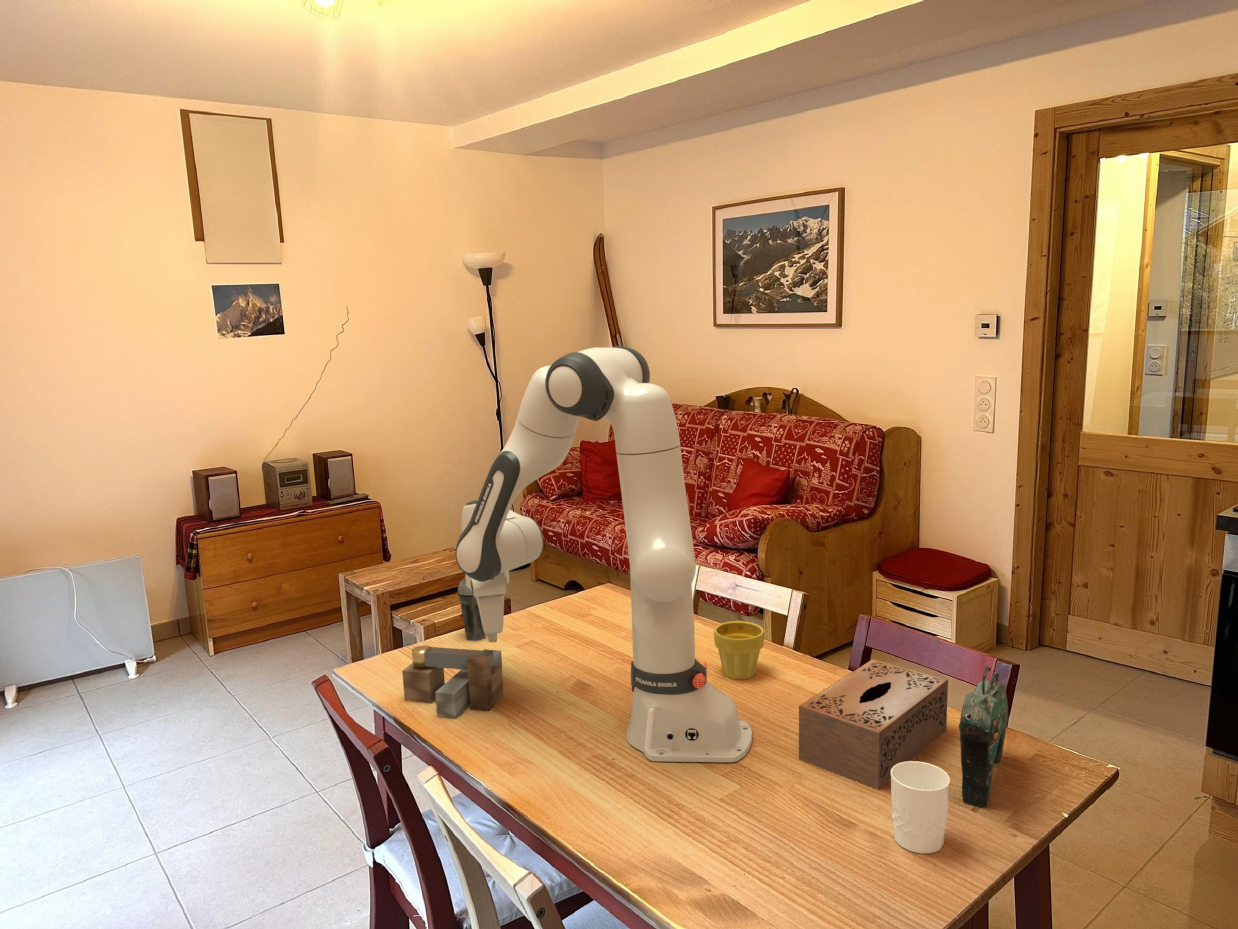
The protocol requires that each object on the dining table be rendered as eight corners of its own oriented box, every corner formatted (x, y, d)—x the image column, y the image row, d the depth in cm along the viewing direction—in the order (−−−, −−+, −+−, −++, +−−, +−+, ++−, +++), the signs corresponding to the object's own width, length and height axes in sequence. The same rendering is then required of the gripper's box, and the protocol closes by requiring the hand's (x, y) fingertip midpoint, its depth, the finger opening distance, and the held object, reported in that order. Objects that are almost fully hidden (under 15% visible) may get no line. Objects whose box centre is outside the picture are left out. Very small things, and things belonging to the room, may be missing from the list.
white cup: (934, 822, 125) (936, 759, 123) (957, 855, 117) (959, 789, 115) (881, 825, 125) (882, 762, 123) (900, 858, 117) (902, 792, 115)
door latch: (523, 674, 182) (521, 628, 181) (479, 721, 162) (476, 669, 160) (444, 667, 188) (441, 622, 186) (391, 711, 167) (387, 661, 165)
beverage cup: (454, 640, 204) (448, 560, 200) (472, 630, 210) (467, 552, 207) (478, 644, 200) (473, 563, 197) (496, 634, 206) (492, 555, 203)
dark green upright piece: (992, 817, 126) (997, 690, 122) (946, 804, 129) (950, 681, 126) (1012, 757, 142) (1018, 644, 139) (971, 748, 146) (976, 637, 142)
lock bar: (409, 666, 171) (408, 652, 171) (418, 658, 175) (417, 645, 174) (487, 672, 167) (486, 658, 166) (495, 664, 171) (494, 650, 170)
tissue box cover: (877, 791, 134) (878, 732, 132) (798, 761, 144) (798, 706, 142) (946, 731, 152) (948, 679, 150) (872, 708, 162) (872, 659, 160)
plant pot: (763, 684, 173) (763, 639, 172) (713, 682, 175) (712, 637, 174) (764, 664, 183) (764, 621, 182) (716, 662, 185) (715, 620, 184)
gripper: (469, 563, 182) (475, 624, 185) (473, 591, 163) (479, 660, 165) (499, 560, 184) (504, 621, 186) (506, 588, 164) (511, 655, 166)
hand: (492, 639), depth 175 cm, fingers closed
